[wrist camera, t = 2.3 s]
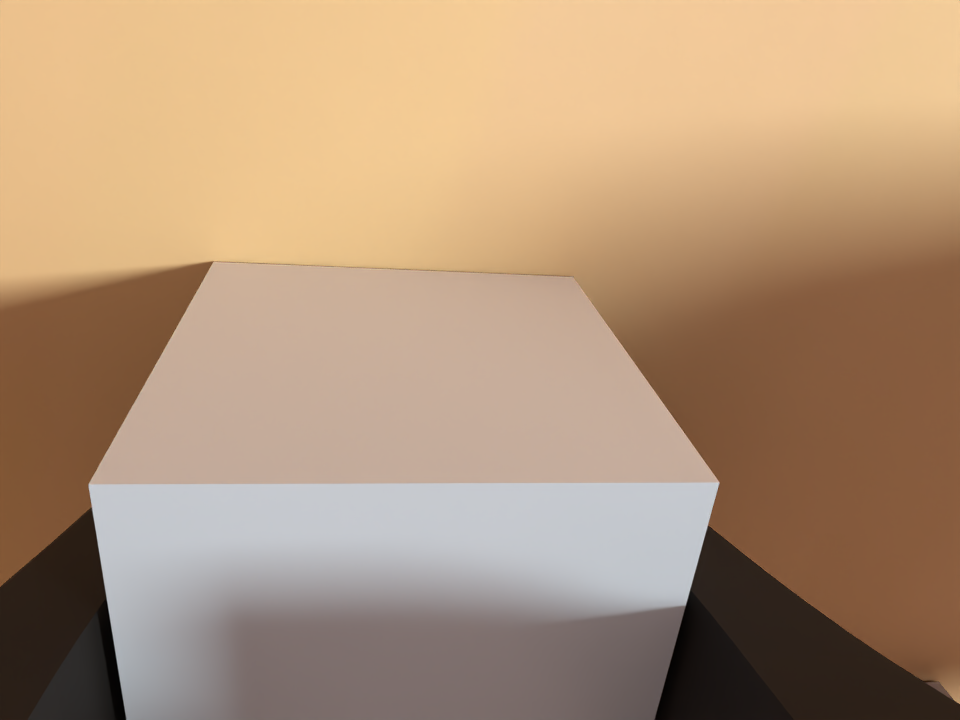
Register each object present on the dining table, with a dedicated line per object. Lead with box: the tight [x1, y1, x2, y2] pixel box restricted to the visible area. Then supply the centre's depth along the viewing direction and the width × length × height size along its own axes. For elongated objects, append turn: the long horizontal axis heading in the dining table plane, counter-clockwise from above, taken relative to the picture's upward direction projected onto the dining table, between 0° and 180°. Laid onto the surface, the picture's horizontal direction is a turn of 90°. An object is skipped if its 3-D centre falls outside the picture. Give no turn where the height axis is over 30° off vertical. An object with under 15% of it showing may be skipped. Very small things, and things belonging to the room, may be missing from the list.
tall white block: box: [88, 262, 720, 720], centre depth 8 cm, size 4×6×4 cm
